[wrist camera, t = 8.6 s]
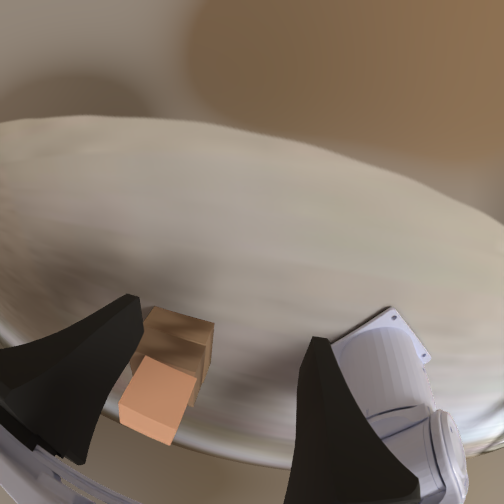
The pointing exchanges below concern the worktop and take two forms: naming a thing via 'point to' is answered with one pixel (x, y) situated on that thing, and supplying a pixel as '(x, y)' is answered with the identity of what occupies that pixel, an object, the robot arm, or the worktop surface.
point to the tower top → (172, 355)
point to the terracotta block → (156, 400)
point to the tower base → (183, 329)
